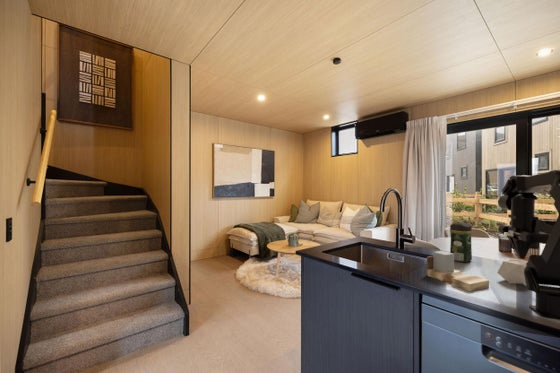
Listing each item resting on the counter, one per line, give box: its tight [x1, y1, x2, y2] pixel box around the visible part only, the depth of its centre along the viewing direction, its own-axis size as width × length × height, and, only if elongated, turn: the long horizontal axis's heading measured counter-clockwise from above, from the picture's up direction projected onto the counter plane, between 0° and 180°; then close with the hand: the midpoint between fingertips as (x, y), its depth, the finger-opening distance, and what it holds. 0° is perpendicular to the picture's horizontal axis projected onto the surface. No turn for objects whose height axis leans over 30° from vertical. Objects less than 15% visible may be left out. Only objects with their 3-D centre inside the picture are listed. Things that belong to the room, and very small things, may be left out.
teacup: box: [506, 258, 528, 268], centre depth 104 cm, size 10×8×5 cm
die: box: [496, 260, 526, 285], centre depth 96 cm, size 8×9×10 cm
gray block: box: [432, 250, 455, 273], centre depth 102 cm, size 5×5×7 cm
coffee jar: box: [449, 221, 473, 263], centre depth 125 cm, size 10×8×19 cm
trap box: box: [426, 255, 490, 292], centre depth 97 cm, size 17×10×8 cm, turn 21°
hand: (521, 258), depth 86 cm, fingers closed
